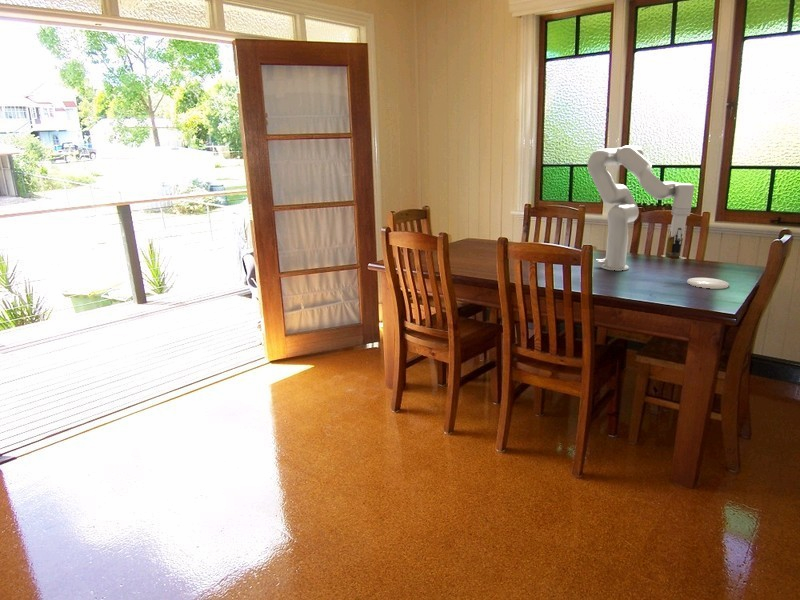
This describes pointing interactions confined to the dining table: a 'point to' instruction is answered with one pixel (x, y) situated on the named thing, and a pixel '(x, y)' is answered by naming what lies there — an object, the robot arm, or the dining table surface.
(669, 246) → the condiment
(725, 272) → the dining table surface
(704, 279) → the plate
